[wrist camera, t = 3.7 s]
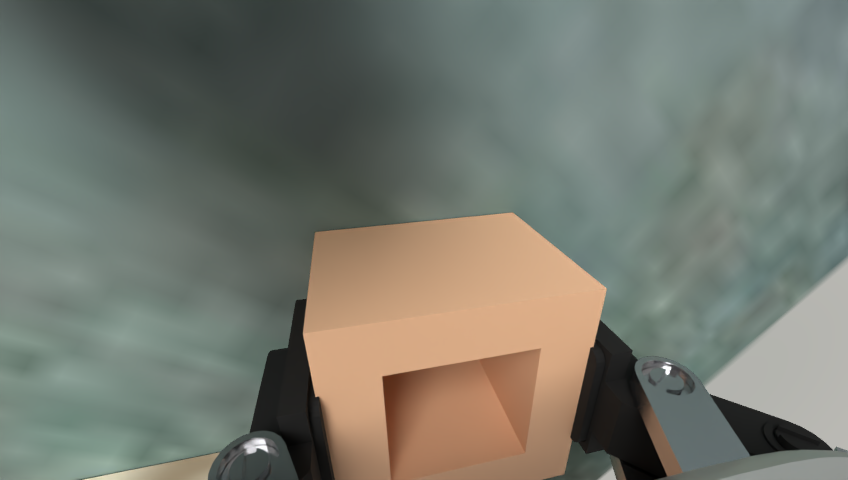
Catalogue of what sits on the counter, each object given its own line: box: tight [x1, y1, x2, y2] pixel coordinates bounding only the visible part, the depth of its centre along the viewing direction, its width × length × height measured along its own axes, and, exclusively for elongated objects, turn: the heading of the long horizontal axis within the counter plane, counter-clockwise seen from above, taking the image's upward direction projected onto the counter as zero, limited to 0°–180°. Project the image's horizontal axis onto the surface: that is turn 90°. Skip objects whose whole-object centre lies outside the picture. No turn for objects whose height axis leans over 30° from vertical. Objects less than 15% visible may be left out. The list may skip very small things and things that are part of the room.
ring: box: [303, 213, 607, 480], centre depth 10 cm, size 6×6×4 cm
